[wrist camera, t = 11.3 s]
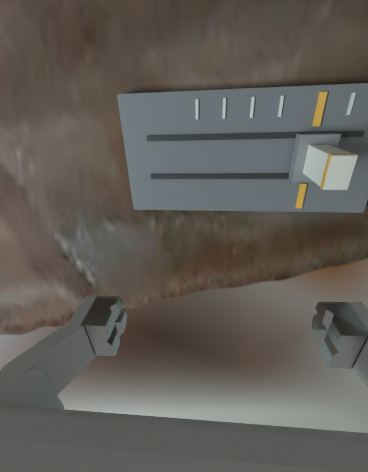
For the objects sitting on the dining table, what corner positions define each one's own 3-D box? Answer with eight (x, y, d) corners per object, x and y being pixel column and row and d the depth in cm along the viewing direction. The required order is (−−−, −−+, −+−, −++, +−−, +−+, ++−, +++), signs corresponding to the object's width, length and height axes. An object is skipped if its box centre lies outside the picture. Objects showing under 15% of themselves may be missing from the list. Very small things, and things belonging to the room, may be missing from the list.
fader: (296, 133, 26) (323, 143, 20) (334, 132, 26) (375, 142, 19) (288, 178, 29) (309, 200, 22) (323, 178, 28) (355, 200, 22)
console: (122, 94, 28) (115, 94, 26) (397, 82, 25) (412, 80, 23) (137, 204, 35) (133, 210, 33) (355, 206, 32) (364, 213, 30)
